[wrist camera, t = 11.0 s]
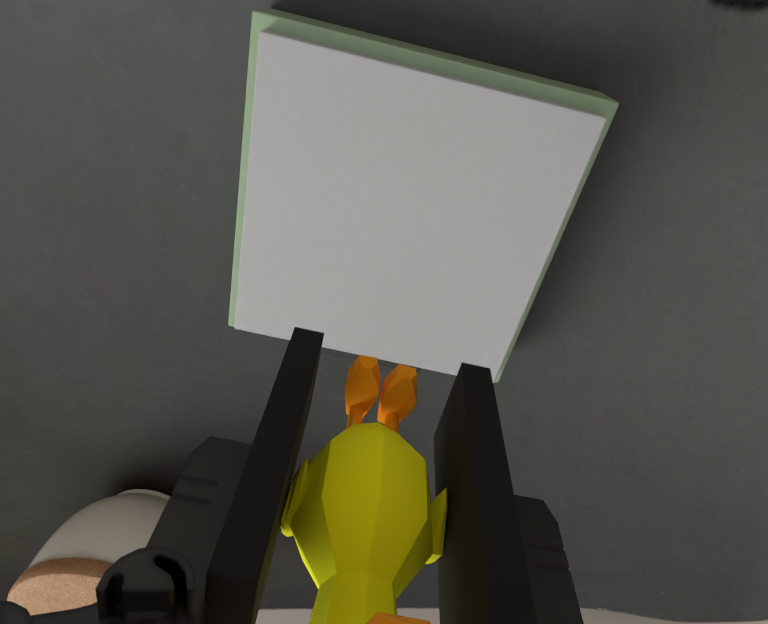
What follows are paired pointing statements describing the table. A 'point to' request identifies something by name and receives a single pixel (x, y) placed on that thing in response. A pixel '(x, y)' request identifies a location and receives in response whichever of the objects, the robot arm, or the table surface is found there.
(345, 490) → the toy figure
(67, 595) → the trinket box
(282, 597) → the table surface
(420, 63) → the kitchen scale
